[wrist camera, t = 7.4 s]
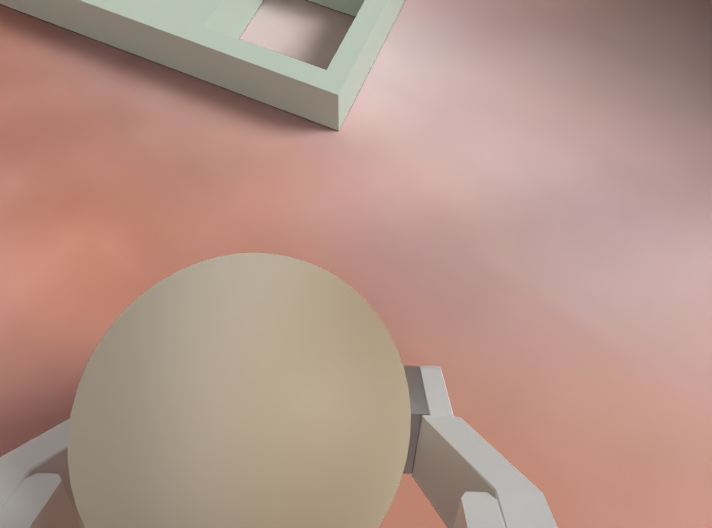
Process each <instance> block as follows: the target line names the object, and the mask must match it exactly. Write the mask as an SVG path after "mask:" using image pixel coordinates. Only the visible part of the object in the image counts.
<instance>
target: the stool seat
mask: <svg viewBox="0 0 712 528" xmlns="http://www.w3.org/2000/svg"><path fill="white" fill-rule="evenodd" d="M263 1H264V0H0V4H2V5H4V6H7V7H10V8H12V9H15V10H18V11H20V12H23V13H26V14H28V15H31V16H34V17H36V18H39V19H42V20H44V21H47V22H50V23H52V24H55V25H58V26H60V27H63V28H66V29H68V30H71V31H74V32H76V33H79V34H82V35H84V36H87V37H90V38H92V39H95V40H98V41H100V42H103V43H106V44H108V45H111V46H114V47H116V48H119V49H122V50H124V51H127V52H130V53H132V54H135V55H138V56H140V57H143V58H146V59H148V60H151V61H154V62H156V63H159V64H162V65H164V66H167V67H170V68H172V69H175V70H178V71H180V72H183V73H186V74H188V75H191V76H194V77H196V78H199V79H202V80H204V81H207V82H210V83H212V84H215V85H218V86H220V87H223V88H226V89H228V90H231V91H234V92H236V93H239V94H242V95H244V96H247V97H250V98H252V99H255V100H258V101H260V102H263V103H266V104H268V105H271V106H274V107H276V108H279V109H282V110H284V111H287V112H290V113H292V114H295V115H298V116H300V117H303V118H306V119H308V120H311V121H314V122H316V123H319V124H322V125H324V126H327V127H330V128H332V129H335V130H338V131H339V129H340V127H341V125H342V123H343V121H344V120H345V118H346V116H347V114H348V112H349V110H350V108H351V106H352V104H353V102H354V100H355V98H356V96H357V94H358V92H359V90H360V88H361V86H362V84H363V82H364V80H365V78H366V76H367V74H368V72H369V70H370V68H371V66H372V65H373V63H374V61H375V59H376V57H377V55H378V53H379V51H380V49H381V47H382V45H383V43H384V41H385V39H386V37H387V35H388V33H389V31H390V29H391V27H392V25H393V23H394V21H395V19H396V17H397V15H398V13H399V12H400V10H401V8H402V6H403V4H404V2H405V0H308V1H311V2H314V3H317V4H320V5H322V6H325V7H328V8H331V9H334V10H337V11H340V12H343V13H345V14H348V15H351V16H354V17H355V19H354V21H353V23H352V25H351V26H350V28H349V30H348V32H347V34H346V35H345V37H344V39H343V41H342V43H341V44H340V46H339V48H338V50H337V52H336V54H335V55H334V57H333V59H332V61H331V63H330V64H329V66H328V68H327V70H325V69H322V68H319V67H316V66H314V65H311V64H308V63H305V62H303V61H300V60H297V59H294V58H292V57H289V56H286V55H283V54H281V53H278V52H275V51H272V50H269V49H267V48H264V47H261V46H258V45H256V44H253V43H250V42H247V41H245V40H242V39H239V37H240V36H241V34H242V33H243V31H244V30H245V28H246V27H247V25H248V24H249V22H250V21H251V19H252V18H253V16H254V15H255V13H256V12H257V10H258V8H259V7H260V5H261V4H262V2H263Z"/></svg>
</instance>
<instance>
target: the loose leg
mask: <svg viewBox="0 0 712 528" xmlns="http://www.w3.org/2000/svg"><path fill="white" fill-rule="evenodd" d="M410 428H411V407H410V397H409V388H408V383H407V379H406V375H405V370H404V366H403V364H402V361H401V358H400V355H399V353H398V350H397V347H396V345H395V343H394V341H393V339H392V337H391V335H390V333H389V331H388V329H387V328H386V326H385V325H384V323H383V322H382V320H381V319H380V317H379V316H378V315H377V313H376V312H375V310H374V309H373V308H372V307H371V306H370V305H369V304H368V303H367V301H366V300H365V299H364V298H363V297H362V296H361V295H360V294H359V293H357V292H356V291H355V290H354V289H353V288H352V287H350V286H349V285H348V284H347V283H346V282H344V281H342V280H341V279H339V278H338V277H336V276H335V275H333V274H332V273H330V272H328V271H326V270H324V269H322V268H320V267H318V266H316V265H314V264H311V263H308V262H305V261H302V260H299V259H296V258H293V257H288V256H283V255H278V254H268V253H238V254H231V255H225V256H219V257H214V258H211V259H208V260H204V261H201V262H198V263H195V264H193V265H190V266H188V267H186V268H183V269H181V270H179V271H176V272H175V273H173V274H171V275H169V276H168V277H166V278H164V279H162V280H161V281H159V282H158V283H156V284H155V285H153V286H152V287H151V288H149V289H148V290H147V291H145V292H144V293H142V294H141V295H140V296H139V297H138V298H137V299H136V300H135V301H133V302H132V303H131V304H130V305H129V306H128V307H127V308H126V309H125V310H124V311H123V312H122V313H121V314H120V316H119V317H118V318H117V319H116V320H115V321H114V322H113V324H112V325H111V326H110V327H109V329H108V330H107V332H106V333H105V334H104V336H103V337H102V339H101V340H100V342H99V343H98V345H97V346H96V348H95V350H94V352H93V354H92V356H91V357H90V359H89V361H88V363H87V365H86V367H85V370H84V372H83V375H82V377H81V380H80V382H79V385H78V387H77V391H76V395H75V398H74V402H73V406H72V410H71V416H70V423H69V430H68V468H69V476H70V484H71V488H72V492H73V496H74V500H75V503H76V507H77V510H78V512H79V515H80V517H81V519H82V522H83V524H84V526H85V528H378V527H379V525H380V524H381V522H382V520H383V518H384V516H385V515H386V513H387V511H388V509H389V508H390V506H391V504H392V501H393V499H394V496H395V494H396V491H397V489H398V487H399V484H400V482H401V478H402V474H403V471H404V467H405V463H406V460H407V454H408V447H409V440H410Z"/></svg>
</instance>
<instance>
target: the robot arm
mask: <svg viewBox="0 0 712 528" xmlns="http://www.w3.org/2000/svg"><path fill="white" fill-rule="evenodd" d="M403 366H404V370H405V375H406V379H407V383H408V388H409V397H410V407H411V428H410V440H409V447H408V454H407V460H406V463H405V467H404V471H403V473H404V474H412V477H413V478H414V480H415V481H416V482H417V484H418V485H419V487H420V488H421V490H422V491H423V493H424V494H425V496H426V497H427V498H428V500H429V501H430V503H431V504H432V506H433V507H434V509H435V510H436V512H437V513H438V514H439V516H440V517H441V519H442V520H443V522H444V523H445V525H446V526H447V527H448V528H557V525H556V523H555V521H554V518H553V516H552V513H551V511H550V509H549V506H548V504H547V501H546V499H545V497H544V494H543V493H542V492H541V491H540V490H539V489H538V488H537V487H536V486H535V485H534V484H532V483H531V482H530V481H529V480H528V479H527V478H526V477H525V476H524V475H523V474H522V473H521V472H519V471H518V470H517V469H516V468H515V467H514V466H513V465H512V464H511V463H510V462H509V461H507V460H506V459H505V458H504V457H503V456H502V455H501V454H500V453H499V452H498V451H497V450H496V449H494V448H493V447H492V446H491V445H490V444H489V443H488V442H487V441H486V440H485V439H484V438H482V437H481V436H480V435H479V434H478V433H477V432H476V431H475V430H474V429H473V428H472V427H470V426H469V425H468V424H467V423H466V422H465V421H464V420H463V419H462V418H461V417H454V415H453V411H452V408H451V404H450V400H449V396H448V393H447V389H446V385H445V381H444V378H443V374H442V370H441V368H440V367H439V366H424V365H419V366H410V365H403ZM69 423H70V418H69V419H67V420H66V421H64V422H62V423H60V424H58V425H57V426H55V427H53V428H51V429H49V430H48V431H46V432H44V433H42V434H41V435H39V436H37V437H35V438H33V439H32V440H30V441H28V442H26V443H25V444H23V445H21V446H19V447H17V448H16V449H14V450H12V451H10V452H8V453H7V454H5V455H3V456H1V457H0V528H85V526H84V524H83V522H82V519H81V517H80V515H79V512H78V510H77V507H76V503H75V500H74V496H73V492H72V488H71V484H70V476H69V468H68V430H69Z"/></svg>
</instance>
